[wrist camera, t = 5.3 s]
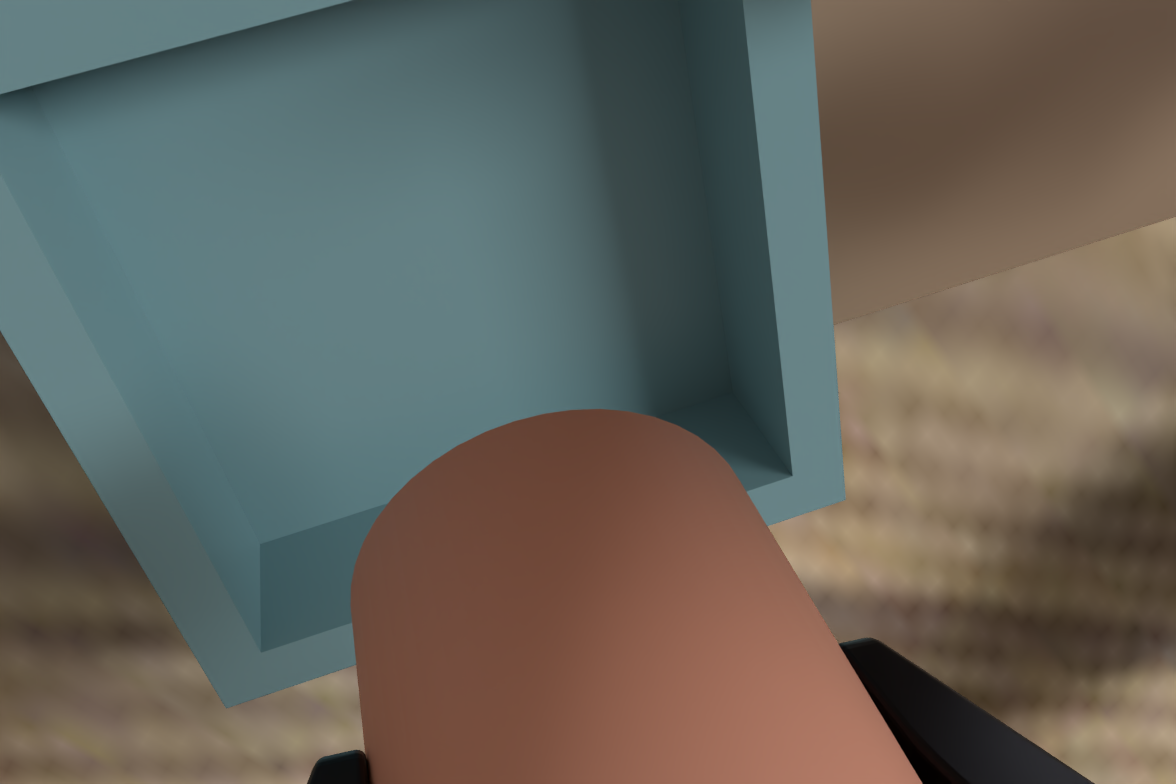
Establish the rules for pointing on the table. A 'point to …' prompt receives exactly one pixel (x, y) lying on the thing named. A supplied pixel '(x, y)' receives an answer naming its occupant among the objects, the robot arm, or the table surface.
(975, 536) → the table surface
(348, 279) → the tray
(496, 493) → the pin
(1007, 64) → the crank base
